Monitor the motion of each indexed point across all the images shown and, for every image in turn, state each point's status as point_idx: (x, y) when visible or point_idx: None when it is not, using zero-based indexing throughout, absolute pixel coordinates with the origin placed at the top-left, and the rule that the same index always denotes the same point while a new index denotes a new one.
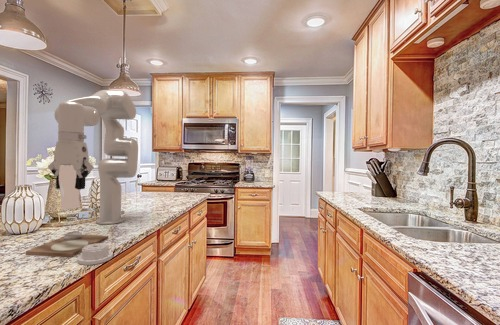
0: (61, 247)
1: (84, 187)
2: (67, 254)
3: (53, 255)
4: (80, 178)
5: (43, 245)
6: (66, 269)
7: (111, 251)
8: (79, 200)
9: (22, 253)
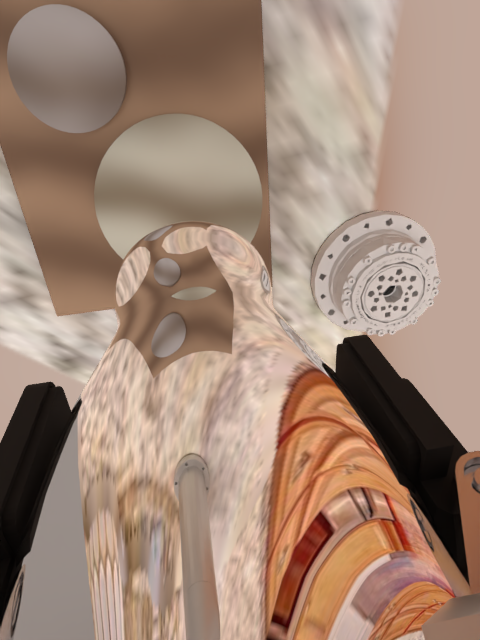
0: None
1: (369, 345)
2: None
3: None
4: None
5: (47, 237)
6: (328, 361)
7: (418, 224)
8: (263, 281)
9: (26, 300)
